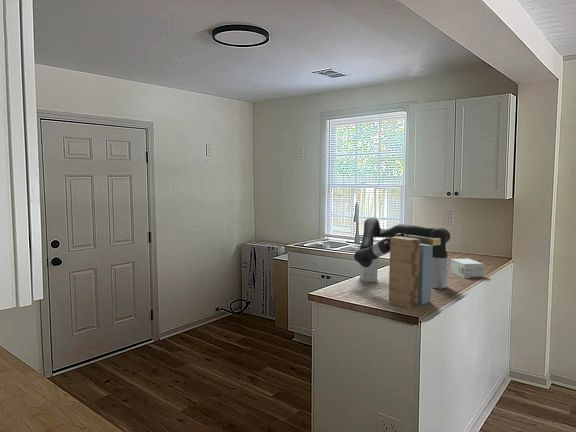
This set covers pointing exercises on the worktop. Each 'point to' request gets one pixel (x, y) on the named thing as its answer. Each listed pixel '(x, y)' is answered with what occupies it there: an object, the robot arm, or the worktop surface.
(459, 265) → the supplement box
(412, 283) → the brown wooden tall block
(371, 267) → the supplement box
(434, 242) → the grey and tan bar
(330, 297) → the worktop surface
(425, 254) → the light blue tall block
